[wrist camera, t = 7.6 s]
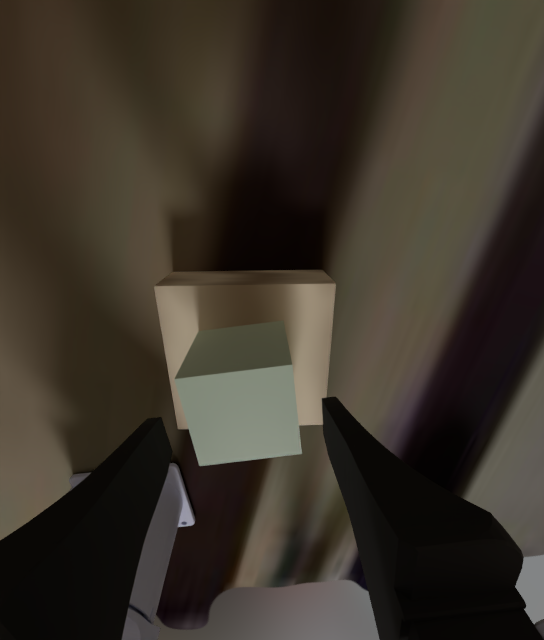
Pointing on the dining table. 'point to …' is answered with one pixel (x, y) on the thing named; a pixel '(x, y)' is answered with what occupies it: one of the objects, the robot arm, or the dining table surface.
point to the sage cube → (240, 394)
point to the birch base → (253, 321)
